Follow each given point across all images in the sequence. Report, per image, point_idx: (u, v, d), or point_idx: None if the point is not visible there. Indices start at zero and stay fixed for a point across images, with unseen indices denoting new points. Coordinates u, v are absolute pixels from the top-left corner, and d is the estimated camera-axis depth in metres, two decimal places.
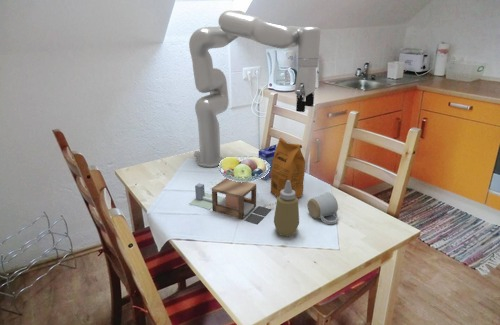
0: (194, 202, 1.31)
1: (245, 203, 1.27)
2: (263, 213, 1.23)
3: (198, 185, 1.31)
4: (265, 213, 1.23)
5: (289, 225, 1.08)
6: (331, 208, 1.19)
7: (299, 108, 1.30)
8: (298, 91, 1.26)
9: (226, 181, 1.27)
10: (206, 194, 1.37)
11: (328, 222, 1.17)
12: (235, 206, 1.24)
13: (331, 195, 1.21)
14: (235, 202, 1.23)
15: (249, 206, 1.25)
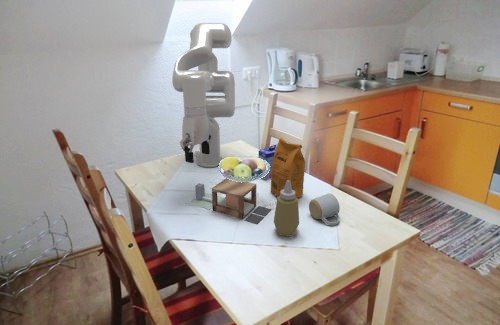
0: (194, 202, 1.31)
1: (245, 203, 1.27)
2: (263, 213, 1.23)
3: (198, 185, 1.31)
4: (265, 213, 1.23)
5: (289, 225, 1.08)
6: (332, 209, 1.18)
7: (187, 159, 1.22)
8: (181, 143, 1.17)
9: (226, 181, 1.27)
10: (206, 194, 1.37)
11: (329, 223, 1.16)
12: (235, 206, 1.24)
13: (332, 196, 1.20)
14: (235, 202, 1.23)
15: (249, 206, 1.25)
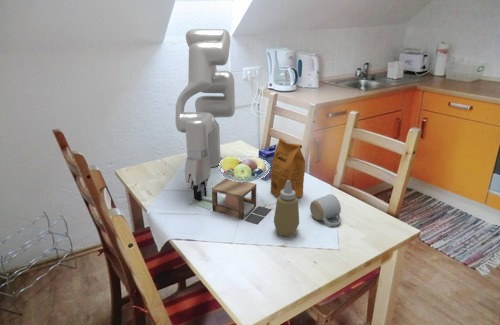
0: (194, 202, 1.31)
1: (245, 203, 1.27)
2: (263, 213, 1.23)
3: None
4: (265, 213, 1.23)
5: (289, 225, 1.08)
6: (334, 210, 1.18)
7: (195, 197, 1.31)
8: (189, 188, 1.26)
9: (226, 181, 1.27)
10: None
11: (331, 224, 1.16)
12: (235, 206, 1.24)
13: (334, 197, 1.19)
14: (235, 202, 1.23)
15: (249, 206, 1.25)
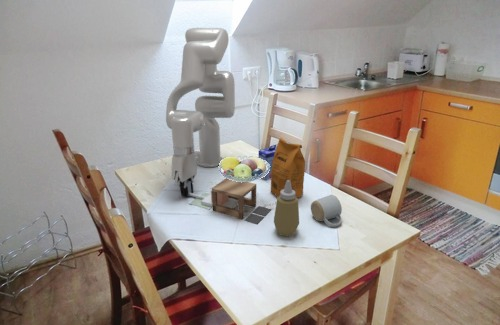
0: (194, 202, 1.31)
1: (230, 199, 1.30)
2: (263, 213, 1.23)
3: None
4: (265, 213, 1.23)
5: (289, 225, 1.08)
6: (335, 211, 1.17)
7: (182, 193, 1.33)
8: (175, 184, 1.28)
9: (226, 181, 1.27)
10: (206, 194, 1.37)
11: (332, 225, 1.15)
12: (220, 202, 1.26)
13: (335, 197, 1.19)
14: (220, 198, 1.26)
15: (234, 202, 1.28)
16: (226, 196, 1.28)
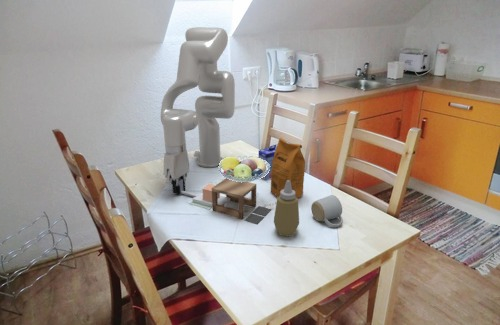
0: (194, 202, 1.31)
1: (222, 197, 1.32)
2: (263, 213, 1.23)
3: None
4: (265, 213, 1.23)
5: (289, 225, 1.08)
6: (335, 211, 1.17)
7: (174, 191, 1.35)
8: (167, 182, 1.30)
9: (226, 181, 1.27)
10: None
11: (332, 225, 1.15)
12: (211, 200, 1.28)
13: (335, 198, 1.19)
14: (211, 196, 1.27)
15: (225, 200, 1.30)
16: (217, 194, 1.30)
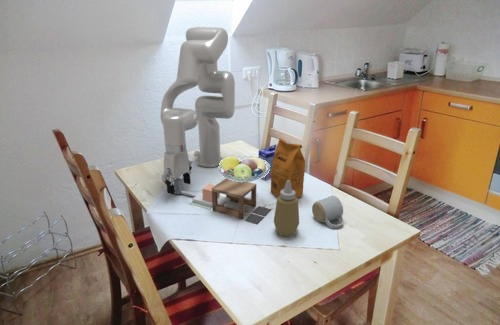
0: (194, 202, 1.31)
1: (221, 197, 1.32)
2: (263, 213, 1.23)
3: (177, 179, 1.36)
4: (265, 213, 1.23)
5: (289, 225, 1.08)
6: (336, 212, 1.17)
7: (168, 191, 1.32)
8: (162, 177, 1.27)
9: (226, 181, 1.27)
10: None
11: (333, 226, 1.15)
12: (211, 199, 1.28)
13: (336, 198, 1.19)
14: (211, 196, 1.27)
15: (225, 200, 1.30)
16: (217, 194, 1.30)
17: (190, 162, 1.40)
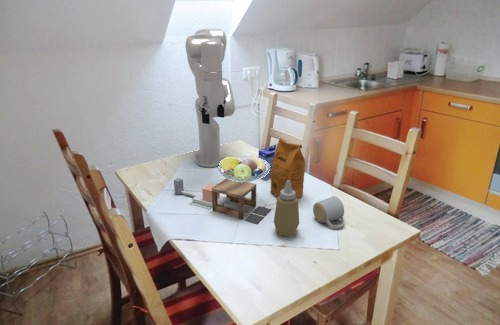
0: (194, 202, 1.31)
1: (221, 197, 1.32)
2: (263, 213, 1.23)
3: (177, 179, 1.36)
4: (265, 213, 1.23)
5: (289, 225, 1.08)
6: (337, 212, 1.16)
7: (204, 120, 1.33)
8: (199, 104, 1.28)
9: (226, 181, 1.27)
10: None
11: (334, 227, 1.14)
12: (211, 199, 1.28)
13: (337, 199, 1.18)
14: (211, 196, 1.27)
15: (225, 200, 1.30)
16: (217, 194, 1.30)
17: (224, 95, 1.40)
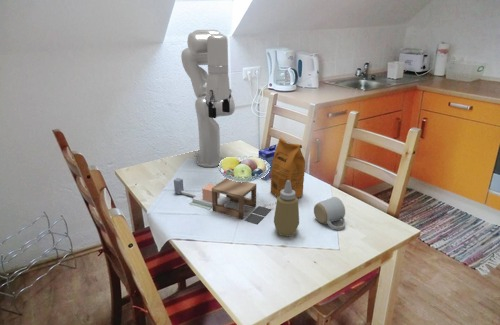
0: (194, 202, 1.31)
1: (221, 197, 1.32)
2: (263, 213, 1.23)
3: (177, 179, 1.36)
4: (265, 213, 1.23)
5: (289, 225, 1.08)
6: (338, 213, 1.16)
7: (210, 114, 1.33)
8: (206, 98, 1.28)
9: (226, 181, 1.27)
10: None
11: (335, 227, 1.14)
12: (211, 199, 1.28)
13: (338, 200, 1.18)
14: (211, 196, 1.27)
15: (225, 200, 1.30)
16: (217, 194, 1.30)
17: (229, 90, 1.41)
